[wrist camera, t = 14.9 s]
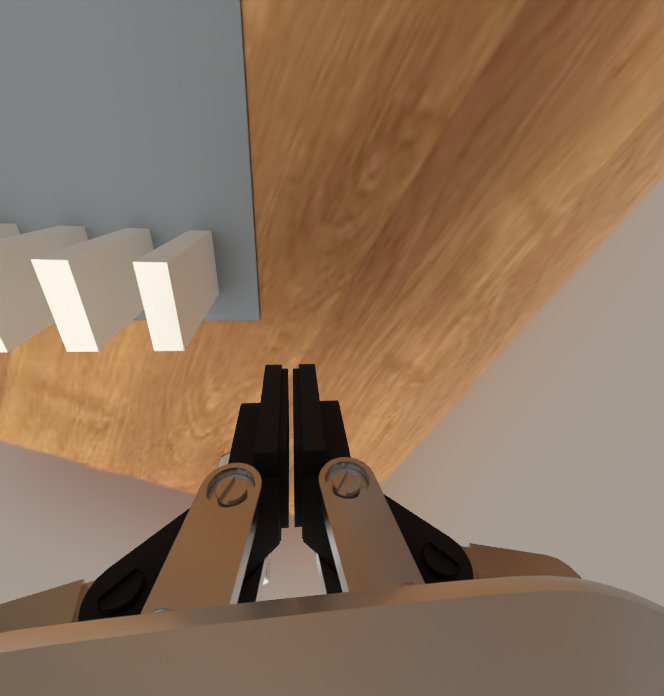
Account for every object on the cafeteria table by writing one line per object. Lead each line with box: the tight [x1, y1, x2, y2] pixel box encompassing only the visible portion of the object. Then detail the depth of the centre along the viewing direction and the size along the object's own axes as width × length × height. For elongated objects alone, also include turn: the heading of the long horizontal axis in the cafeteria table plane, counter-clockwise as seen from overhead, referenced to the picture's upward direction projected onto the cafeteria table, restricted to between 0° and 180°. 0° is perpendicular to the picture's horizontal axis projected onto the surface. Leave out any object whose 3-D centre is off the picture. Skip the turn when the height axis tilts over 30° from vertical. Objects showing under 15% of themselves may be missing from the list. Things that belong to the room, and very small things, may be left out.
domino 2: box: [31, 228, 154, 352], centre depth 21 cm, size 2×5×10 cm, turn 177°
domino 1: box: [0, 225, 88, 352], centre depth 20 cm, size 2×5×10 cm, turn 177°
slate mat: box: [0, 0, 260, 321], centre depth 22 cm, size 26×21×1 cm
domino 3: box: [133, 230, 219, 351], centre depth 21 cm, size 2×5×10 cm, turn 177°
